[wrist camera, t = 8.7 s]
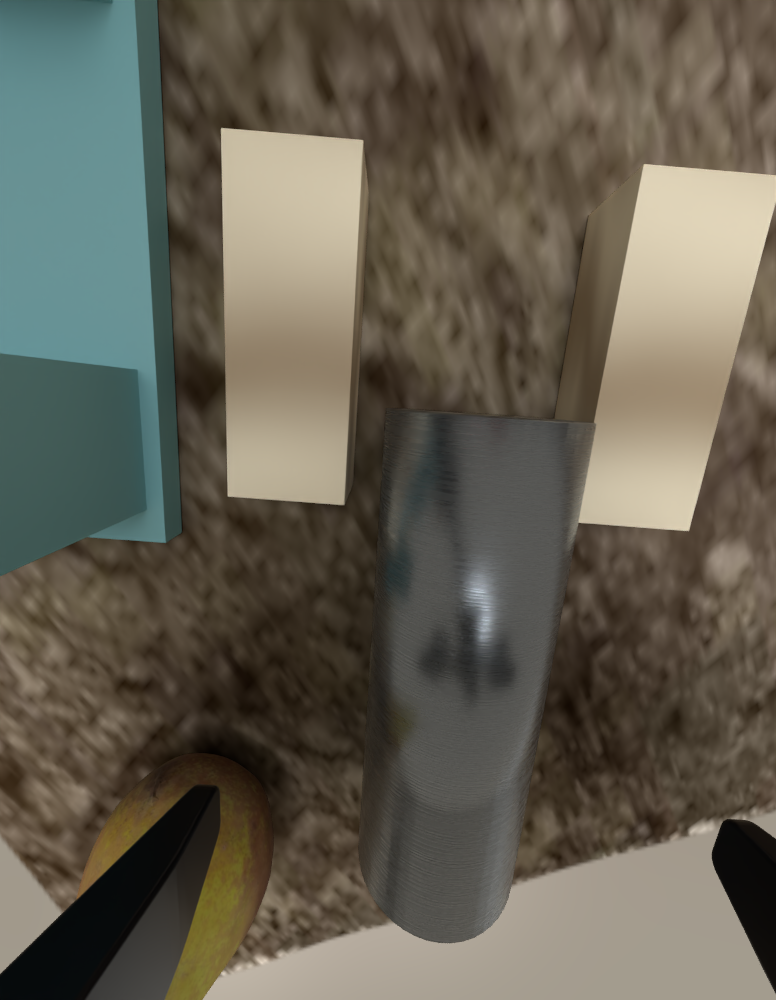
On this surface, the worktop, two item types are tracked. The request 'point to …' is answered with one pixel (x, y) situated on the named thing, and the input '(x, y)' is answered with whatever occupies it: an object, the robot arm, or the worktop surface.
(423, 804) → the grey rounded rod
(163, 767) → the fruit
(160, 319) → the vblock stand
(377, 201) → the worktop surface
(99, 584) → the worktop surface
